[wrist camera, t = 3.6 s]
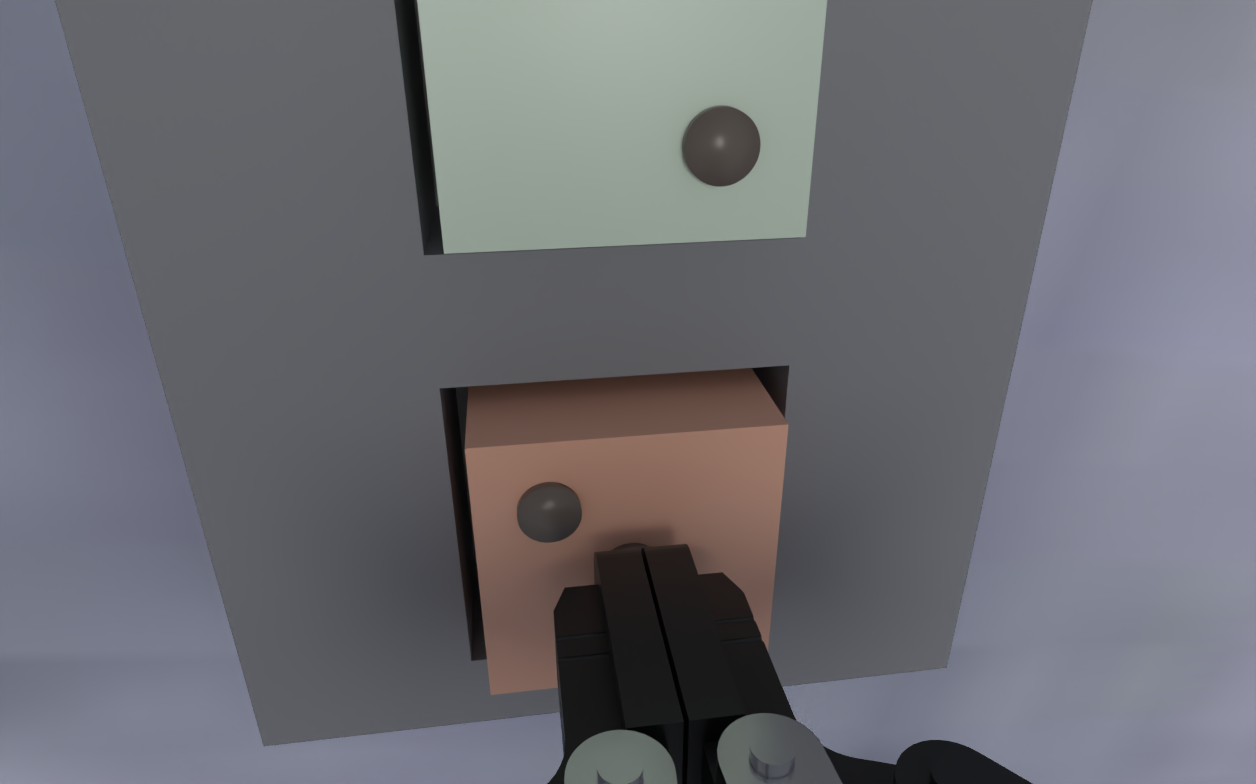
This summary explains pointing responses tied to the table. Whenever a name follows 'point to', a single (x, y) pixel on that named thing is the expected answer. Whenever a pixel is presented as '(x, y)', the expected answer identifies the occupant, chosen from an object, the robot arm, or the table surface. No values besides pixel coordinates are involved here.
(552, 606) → the three dot tile
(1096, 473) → the table surface
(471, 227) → the two dot tile
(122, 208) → the button board
